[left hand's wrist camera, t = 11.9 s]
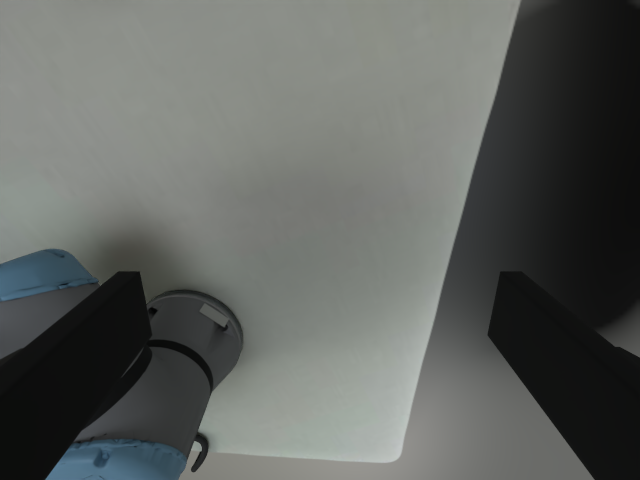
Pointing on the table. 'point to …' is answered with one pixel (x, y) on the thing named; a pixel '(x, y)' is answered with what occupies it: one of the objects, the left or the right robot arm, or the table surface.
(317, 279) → the table surface
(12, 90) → the table surface
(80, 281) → the left robot arm
